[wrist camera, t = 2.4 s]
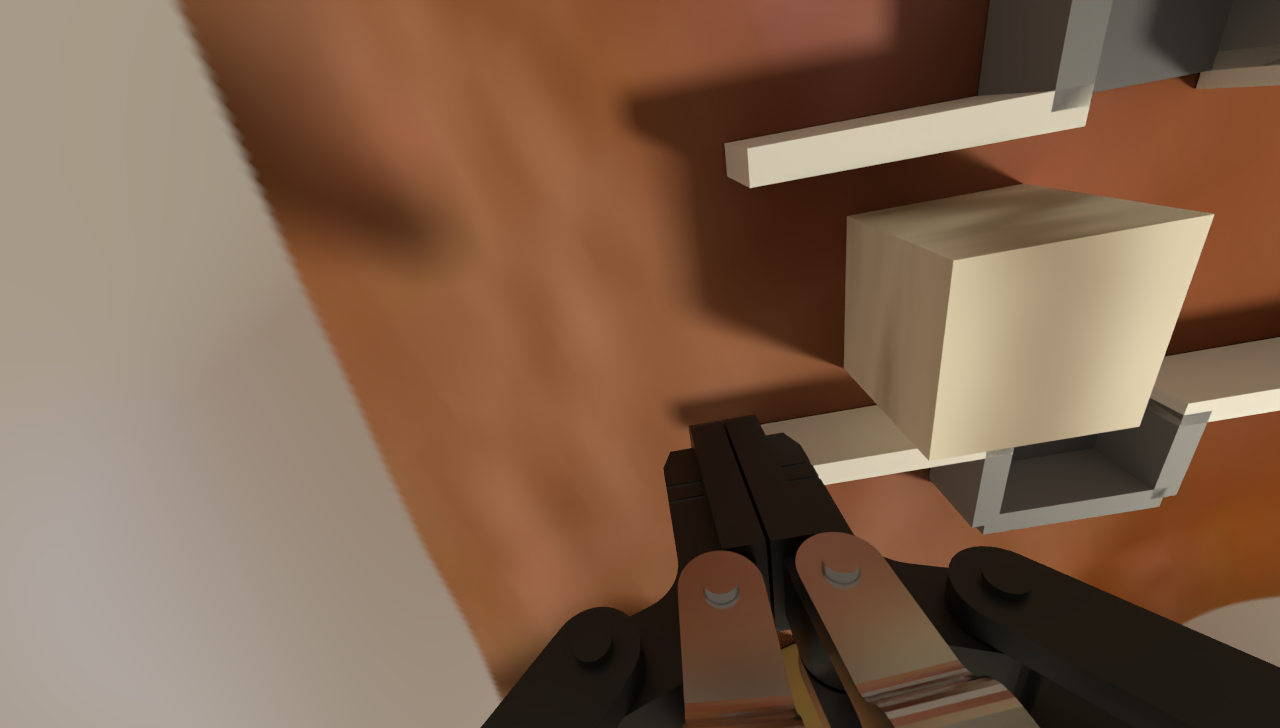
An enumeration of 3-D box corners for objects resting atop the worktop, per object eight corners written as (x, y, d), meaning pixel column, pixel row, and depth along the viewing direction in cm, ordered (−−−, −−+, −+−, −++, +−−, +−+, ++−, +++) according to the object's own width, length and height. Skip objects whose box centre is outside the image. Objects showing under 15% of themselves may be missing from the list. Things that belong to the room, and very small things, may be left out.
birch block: (1021, 183, 17) (1214, 214, 11) (994, 341, 19) (1139, 426, 14) (846, 215, 17) (953, 260, 12) (842, 367, 20) (929, 461, 14)
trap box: (1686, -205, 13) (2097, -328, 9) (1331, 421, 22) (1471, 480, 18) (711, -11, 14) (745, -56, 10) (755, 514, 23) (781, 588, 19)
